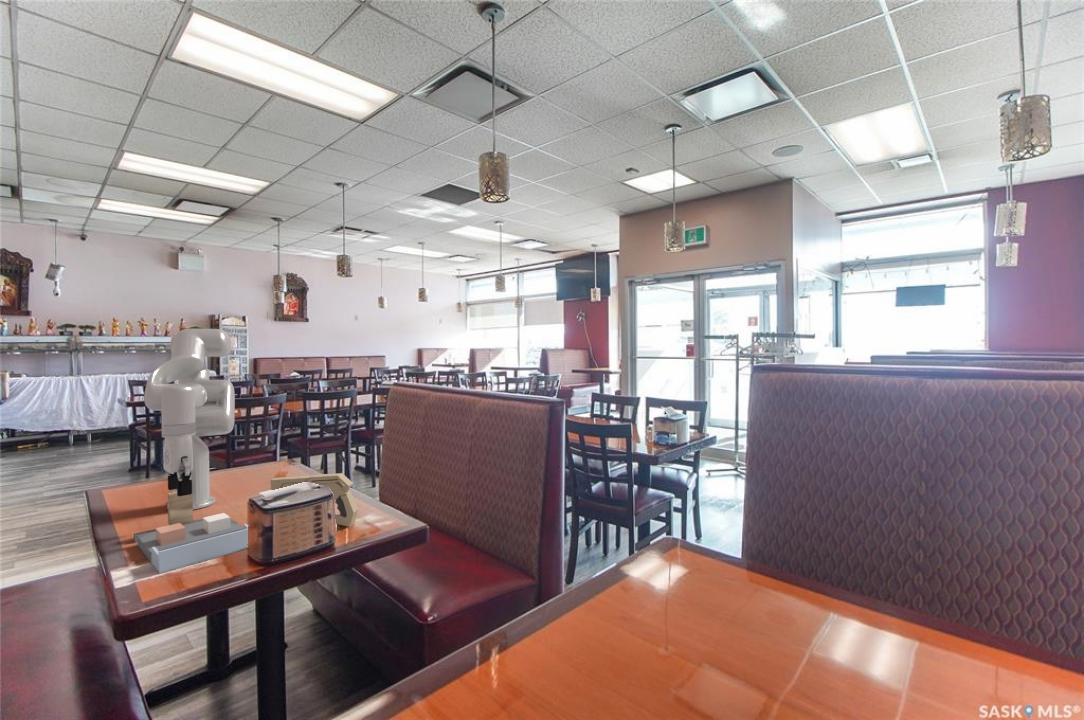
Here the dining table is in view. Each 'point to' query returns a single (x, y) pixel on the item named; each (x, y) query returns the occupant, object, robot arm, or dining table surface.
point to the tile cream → (216, 523)
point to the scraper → (177, 511)
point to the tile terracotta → (170, 534)
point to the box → (199, 551)
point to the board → (192, 534)
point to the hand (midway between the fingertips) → (179, 492)
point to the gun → (338, 487)
